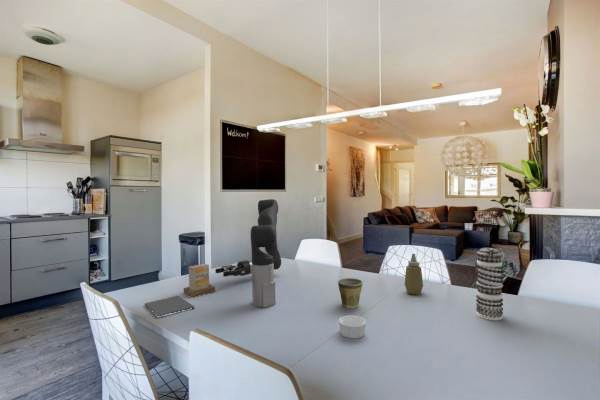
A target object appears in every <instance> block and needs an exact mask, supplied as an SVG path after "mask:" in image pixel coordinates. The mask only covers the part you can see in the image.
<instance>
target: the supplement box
mask: <svg viewBox="0 0 600 400" xmlns="http://www.w3.org/2000/svg"><path fill="white" fill-rule="evenodd" d="M209 284H210V264H207V263H201V264H195V265H192V266H191V265H190V266H188V287H189V290H191V291H196V290H200V289H204V288H209Z"/></svg>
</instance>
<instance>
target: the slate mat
mask: <svg viewBox="0 0 600 400" xmlns="http://www.w3.org/2000/svg"><path fill="white" fill-rule="evenodd" d="M145 305H146V306H147V307H148V308H149V309H150V310H151V311H153V313H155V314H156V315H157V316H162V315H165V314H169V313H174V312H178V311H182V310H187V309H190V308H194V309H195V305H193V304H192V303H190V302H188V301H187V300H186V299H184V298H183V297H181V296H180V295H175V296H170V297H166V298H162V299H157V300H153V301H149V302H145V303H144V306H145ZM146 306H145V307H146ZM147 307H146V308H147ZM148 308H147V309H148ZM149 309H148V310H149ZM150 310H149V311H150ZM151 311H150V312H151ZM187 311H188V310H187ZM153 313H152V314H153Z"/></svg>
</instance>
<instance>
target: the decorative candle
mask: <svg viewBox="0 0 600 400" xmlns="http://www.w3.org/2000/svg"><path fill="white" fill-rule="evenodd" d="M476 254H477V260H476V262H475V263H474V266H475V267H476V268H475V276H476V277H475V280H476V281H475V284H477V290H476V295H475V297H476V300H475V302H476V304H475V307H476V316H477V317H479V318H482V319H484V318H485V320H488V319H489V321H501V320H503V319H504V317H503V315H504V312H503V310H504V308H503V307H502V306H504V303H503V301H504V299H503V293H502V288H503V287H504V284H503V283H504V280H503V279H504V278H505V277H504V276H503V275H502V274H503V273H505V271H504V269H505V267H504V266H503V262H502V255H503V253H501V252H500V251H499V250H498V249H497V248H493V247H481V248H479V250H478V251H476Z"/></svg>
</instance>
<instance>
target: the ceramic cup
mask: <svg viewBox="0 0 600 400" xmlns="http://www.w3.org/2000/svg"><path fill="white" fill-rule="evenodd" d="M337 284H338V290H339V293H340V299H341V304H342V307H344V308H346V309H356V308H358V307H359V303H360V298H361V293H362V288H363V281H362V279H359V278H353V277H352V278H350V277H348V278H347V277H346V278H341V279H338V281H337Z"/></svg>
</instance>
